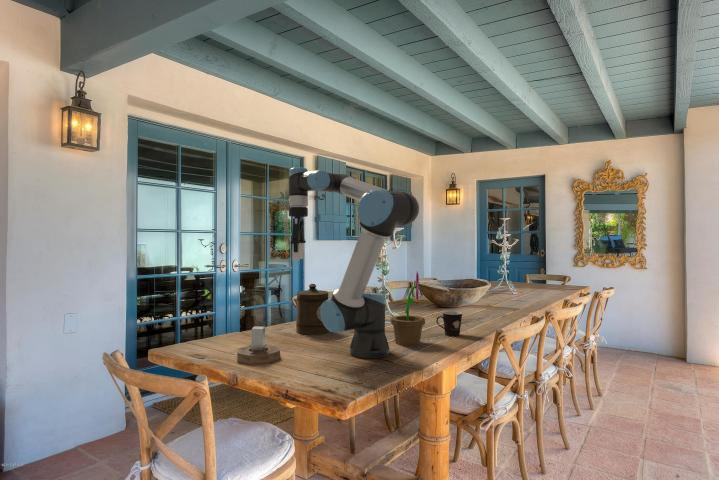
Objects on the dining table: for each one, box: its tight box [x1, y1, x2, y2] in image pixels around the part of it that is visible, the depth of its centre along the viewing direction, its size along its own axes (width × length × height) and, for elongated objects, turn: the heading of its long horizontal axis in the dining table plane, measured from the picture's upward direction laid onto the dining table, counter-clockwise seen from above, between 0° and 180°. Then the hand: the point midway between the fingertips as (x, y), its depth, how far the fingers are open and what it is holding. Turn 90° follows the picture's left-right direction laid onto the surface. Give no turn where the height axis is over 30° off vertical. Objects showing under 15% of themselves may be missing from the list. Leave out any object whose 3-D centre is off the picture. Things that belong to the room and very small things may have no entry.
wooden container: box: [295, 283, 329, 335], centre depth 210 cm, size 15×15×22 cm
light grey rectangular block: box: [251, 326, 266, 352], centre depth 165 cm, size 4×4×11 cm
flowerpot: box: [390, 271, 426, 347], centre depth 188 cm, size 14×14×30 cm
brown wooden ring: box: [236, 343, 281, 365], centre depth 165 cm, size 15×15×3 cm
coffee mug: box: [436, 310, 463, 338], centre depth 203 cm, size 12×9×10 cm
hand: (298, 259), depth 182 cm, fingers open, 13 cm apart
